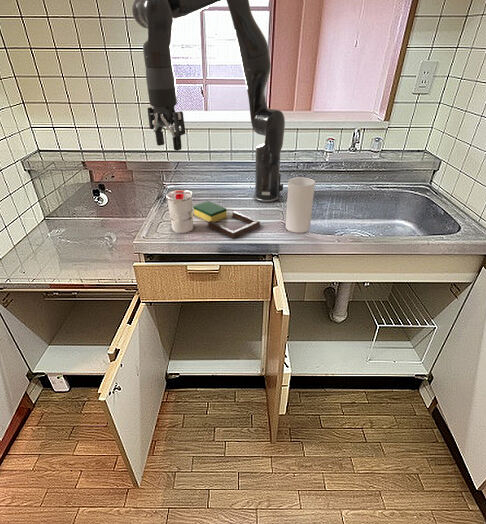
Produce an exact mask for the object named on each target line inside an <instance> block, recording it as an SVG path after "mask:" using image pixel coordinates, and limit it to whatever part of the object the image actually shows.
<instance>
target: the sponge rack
mask: <svg viewBox="0 0 486 524" xmlns="http://www.w3.org/2000/svg"><path fill="white" fill-rule="evenodd" d="M232 218H234V219H236V220H238V221H241V222H242V223H245V224H246V225H244V226H242V227H240V228H237V229H234V230H232V229H230V228H228V227H226V226H223V225H222V224H219V223H217V222H213V221H209V222H208V221H207V222H208V223H207V224H208V228H209V229H212V230H214V231H216V232H218V233H219V234H222V235H224V236H227V237H228V238H230V239H232V240H235V239H236V238H239V237H241V236H243V235H245V234H247V233H250V232H251V231H254V230H256V229H259V228H261V221H260V220H258V219H255V218H253V217H250V216H248V215H246V214H243V213H240V212H238V211H236V210H234V211H232Z"/></svg>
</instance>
